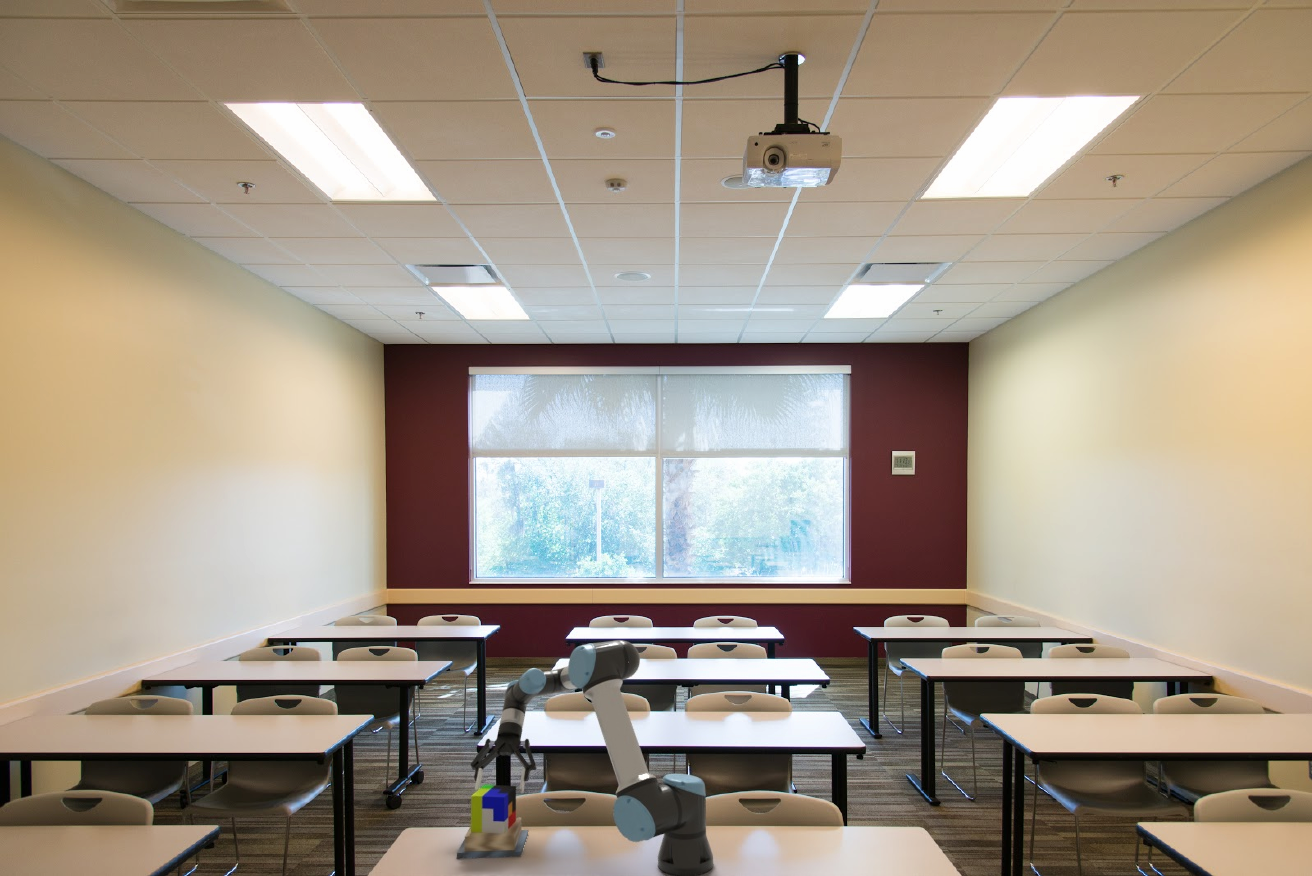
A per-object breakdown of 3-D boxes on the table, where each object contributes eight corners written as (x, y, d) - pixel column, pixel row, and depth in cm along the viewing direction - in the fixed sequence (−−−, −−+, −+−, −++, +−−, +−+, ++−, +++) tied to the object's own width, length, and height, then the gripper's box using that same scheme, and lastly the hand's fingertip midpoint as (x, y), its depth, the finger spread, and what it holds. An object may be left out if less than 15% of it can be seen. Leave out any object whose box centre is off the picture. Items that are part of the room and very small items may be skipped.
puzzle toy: (504, 833, 228) (504, 797, 229) (470, 832, 230) (471, 796, 231) (515, 821, 238) (516, 786, 239) (483, 819, 240) (484, 784, 241)
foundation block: (528, 835, 242) (528, 816, 242) (520, 857, 226) (520, 836, 226) (468, 836, 241) (468, 817, 242) (456, 858, 225) (456, 838, 226)
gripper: (550, 733, 260) (541, 797, 243) (475, 733, 261) (460, 796, 245) (547, 720, 255) (538, 784, 238) (470, 720, 256) (455, 784, 240)
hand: (498, 791), depth 241 cm, fingers open, 13 cm apart
